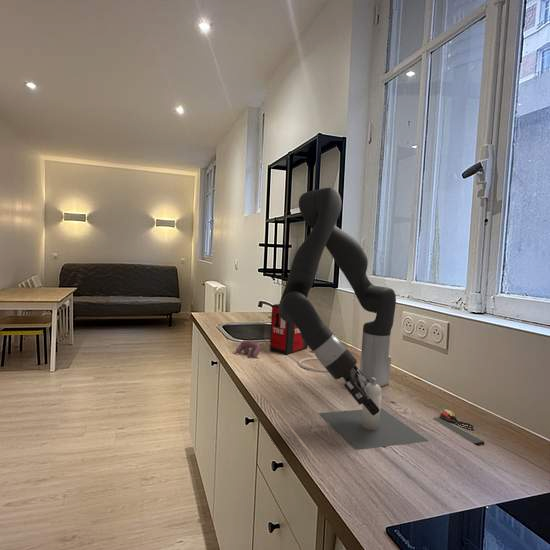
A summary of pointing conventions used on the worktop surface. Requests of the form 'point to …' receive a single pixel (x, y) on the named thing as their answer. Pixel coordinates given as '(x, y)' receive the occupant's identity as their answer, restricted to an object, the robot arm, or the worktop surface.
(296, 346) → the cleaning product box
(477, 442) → the smartphone
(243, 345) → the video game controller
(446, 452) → the worktop surface
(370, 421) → the white pump bottle
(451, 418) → the composite cable
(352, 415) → the mat
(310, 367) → the hand towel holder
